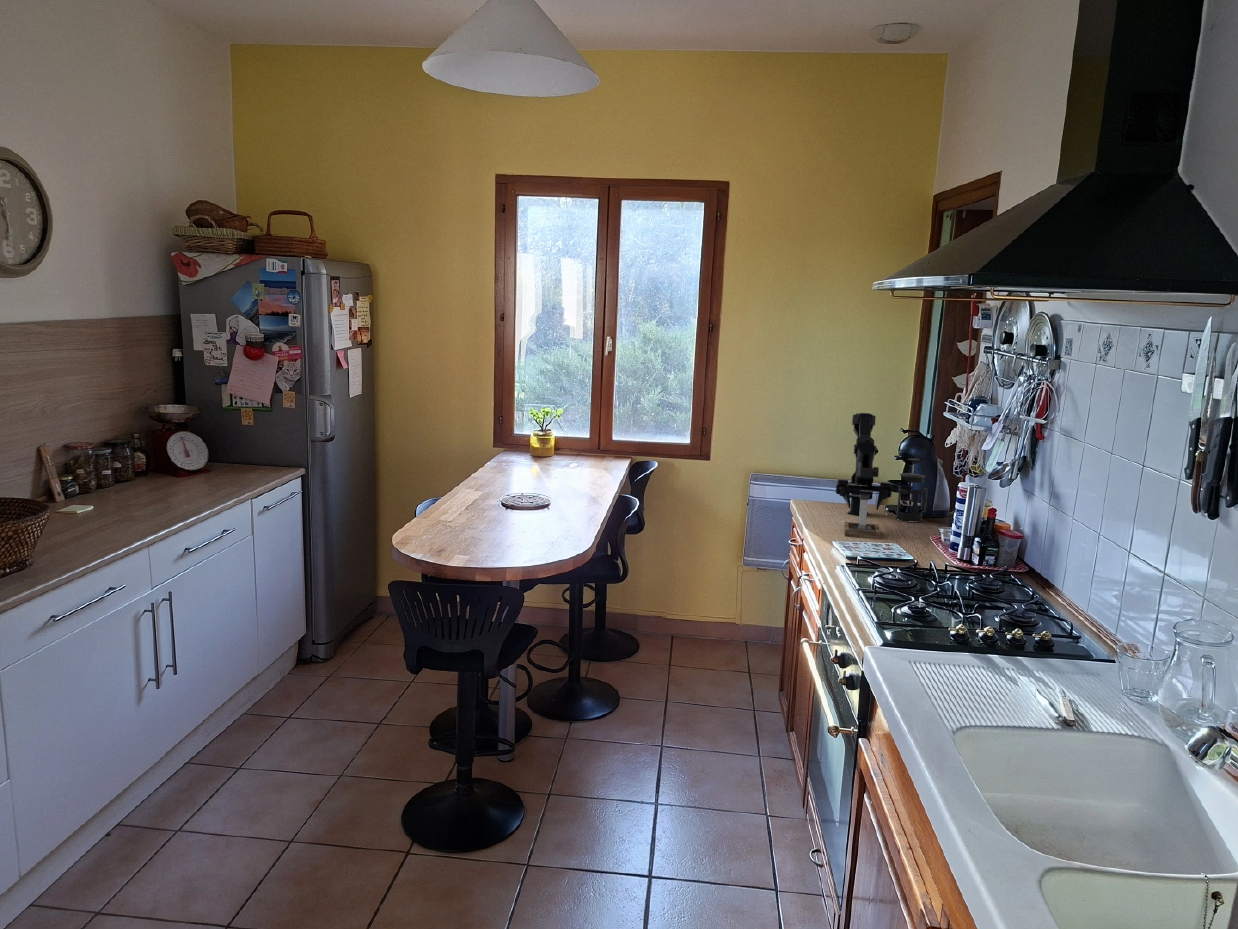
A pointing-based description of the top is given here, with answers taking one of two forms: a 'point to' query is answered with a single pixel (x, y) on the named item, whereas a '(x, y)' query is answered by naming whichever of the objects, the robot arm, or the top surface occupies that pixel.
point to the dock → (862, 531)
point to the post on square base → (863, 513)
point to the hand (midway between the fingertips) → (863, 508)
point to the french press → (900, 512)
